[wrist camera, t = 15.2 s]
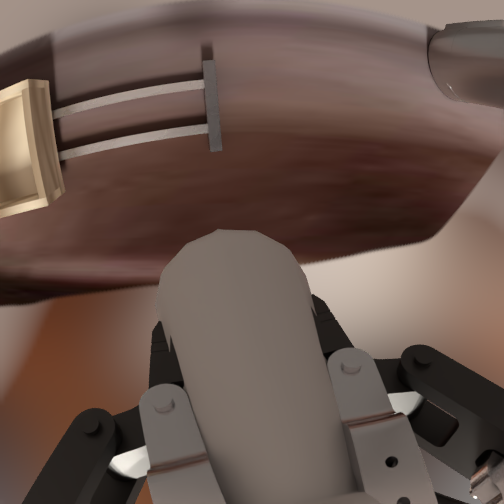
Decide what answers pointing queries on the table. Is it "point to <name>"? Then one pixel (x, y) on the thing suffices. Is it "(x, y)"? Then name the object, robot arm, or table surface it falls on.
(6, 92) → the wooden tray
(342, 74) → the table surface
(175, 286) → the salt shaker
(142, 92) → the rail
